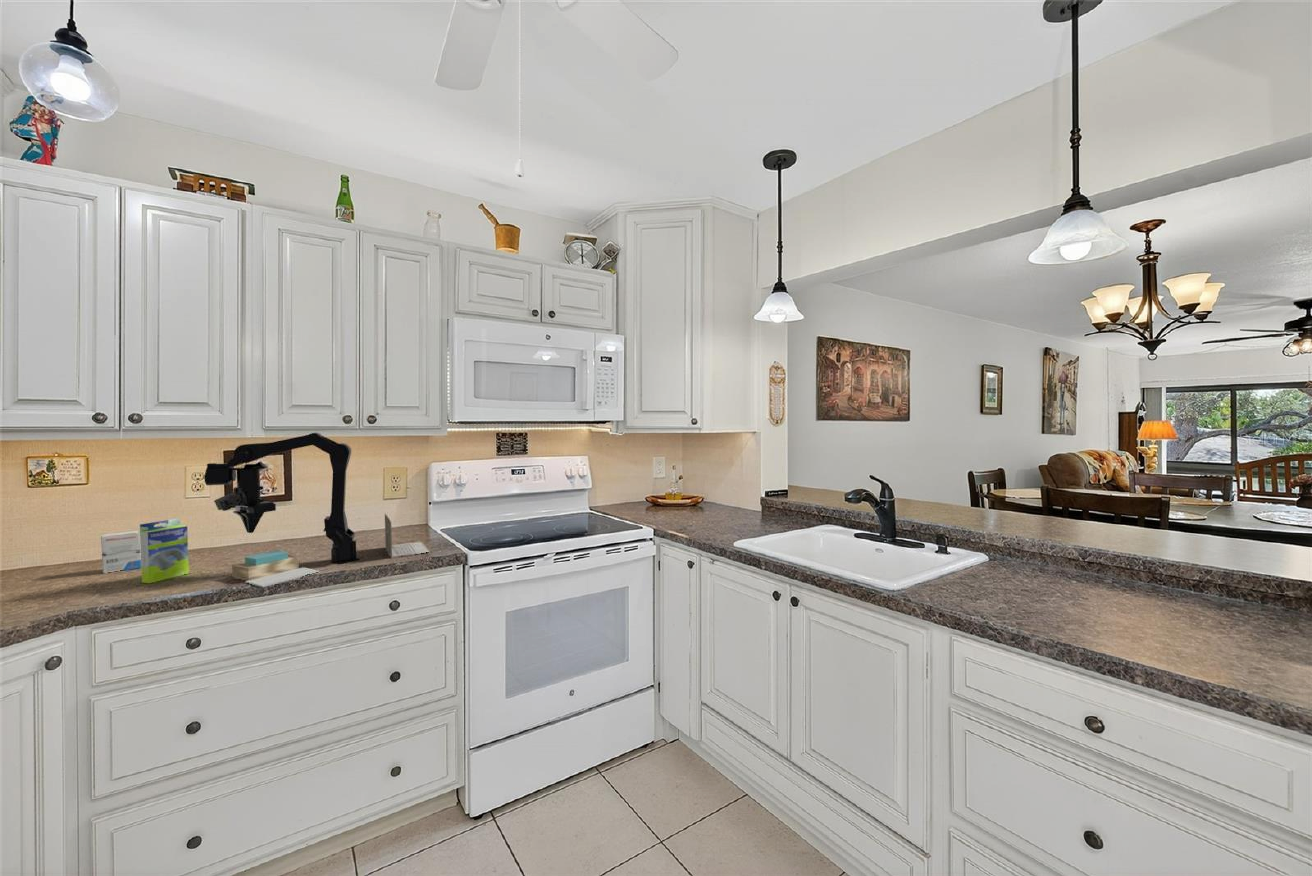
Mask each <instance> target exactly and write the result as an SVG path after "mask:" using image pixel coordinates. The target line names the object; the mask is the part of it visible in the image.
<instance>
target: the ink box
mask: <svg viewBox="0 0 1312 876" xmlns="http://www.w3.org/2000/svg"><path fill="white" fill-rule="evenodd" d="M139 532H140V531H139V530H134V531H124V532H116V533H107V534H101V536H100V542H101V543H100V545H101V560H102V561H101V562H102V574H103V573H106V574H109V573H108V572H112V573H115V572H114V571H118V572H121V571H120V570H125V571H130V570H136V569H137V568H138V569H142V565H141V543H140V533H139ZM138 569H137V570H138Z"/></svg>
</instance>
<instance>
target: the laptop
mask: <svg viewBox="0 0 1312 876" xmlns="http://www.w3.org/2000/svg"><path fill="white" fill-rule="evenodd" d="M392 529H393V528H392V521H391V519H390V518H389V517H388V515H387V514H386V513H384V537H385V539H384V540H385V543H384V544H385V548H386V550H387V552H388V554H389V556H390V558H391V559H394V558H393V557H397V558H400V557H401V556H405V557H410V555H411V556H416V555H415V554H417V555H422V554H421V553H424V554H427V553H426V552H429V553H431V552H430V550H429V549H428V547H426V545H425V544H424V543H423V542H422V541H415V542H407V543H406V542H405V543H399V544H393V540H392V539H393V536H392V531H393V530H392Z"/></svg>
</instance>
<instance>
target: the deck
mask: <svg viewBox="0 0 1312 876" xmlns="http://www.w3.org/2000/svg"><path fill="white" fill-rule="evenodd" d="M299 561H300V559H299V556H296V555H290V554H288V559H284V560H280V561H276V562H271V563H267V564H262V565H258V566H254V565H250V564H245V561H243V562H238V563H234V564H231V567H232V568H231V571H232V572H231V573H232V574H231V575H232V579H236V580H239V579H241V580H240V581H243V580H246V581H249V580H253V579H257V578H261V577H265V576H269V575H273V574H277V573H281V572H285V571H290V570H294V569H298V568H300V563H299Z"/></svg>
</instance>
